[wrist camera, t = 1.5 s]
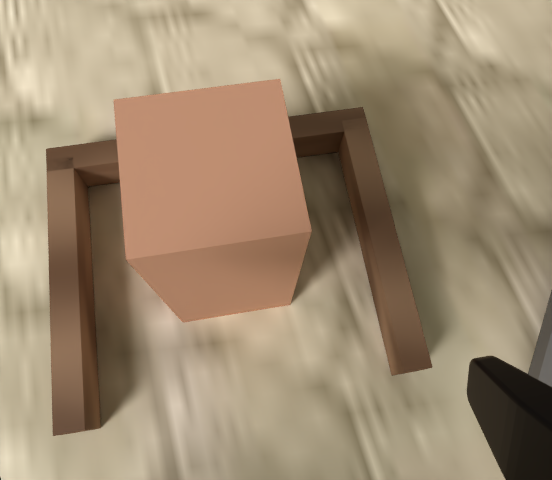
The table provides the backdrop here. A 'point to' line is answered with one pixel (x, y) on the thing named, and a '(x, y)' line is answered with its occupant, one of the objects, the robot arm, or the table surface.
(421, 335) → the walnut bay
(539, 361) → the rubber mat
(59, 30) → the table surface
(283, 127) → the terracotta block
